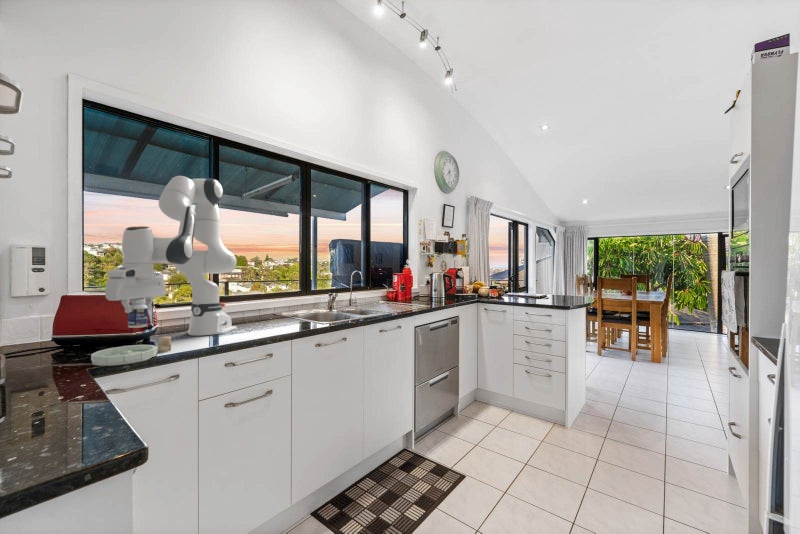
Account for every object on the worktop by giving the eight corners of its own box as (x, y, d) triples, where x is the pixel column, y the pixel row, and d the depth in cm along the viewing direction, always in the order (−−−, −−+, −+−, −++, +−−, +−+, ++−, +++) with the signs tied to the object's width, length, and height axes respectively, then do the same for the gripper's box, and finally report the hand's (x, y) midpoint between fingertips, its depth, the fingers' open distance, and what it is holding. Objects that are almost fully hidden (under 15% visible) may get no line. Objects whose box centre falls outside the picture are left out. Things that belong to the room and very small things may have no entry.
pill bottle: (136, 328, 118) (137, 299, 118) (123, 327, 119) (124, 299, 119) (151, 325, 123) (151, 298, 123) (138, 325, 124) (139, 298, 124)
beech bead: (164, 349, 130) (164, 336, 130) (173, 350, 129) (173, 336, 129) (155, 352, 126) (155, 338, 126) (164, 352, 125) (164, 339, 125)
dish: (127, 351, 126) (127, 344, 126) (168, 353, 124) (168, 345, 124) (77, 364, 110) (77, 355, 110) (123, 367, 107) (123, 358, 107)
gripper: (155, 271, 132) (155, 307, 132) (101, 272, 112) (101, 314, 112) (170, 271, 131) (170, 308, 131) (118, 272, 111) (117, 315, 111)
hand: (137, 311), depth 121 cm, fingers closed on pill bottle, 5 cm apart
